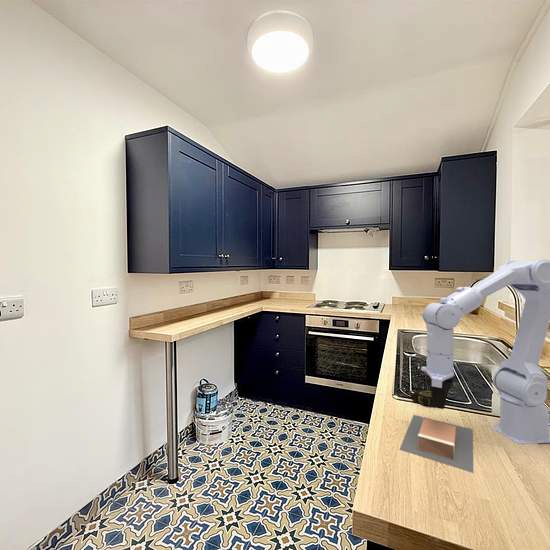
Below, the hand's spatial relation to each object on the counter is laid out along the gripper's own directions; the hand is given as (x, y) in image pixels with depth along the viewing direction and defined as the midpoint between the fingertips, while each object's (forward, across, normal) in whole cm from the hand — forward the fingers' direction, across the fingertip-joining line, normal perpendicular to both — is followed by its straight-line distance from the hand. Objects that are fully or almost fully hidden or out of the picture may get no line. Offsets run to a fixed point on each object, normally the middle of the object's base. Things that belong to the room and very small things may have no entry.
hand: (439, 407), depth 73 cm
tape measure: (+8, -20, -5) cm, 22 cm away
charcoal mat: (+8, +1, 0) cm, 8 cm away
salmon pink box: (+6, -1, 0) cm, 6 cm away
